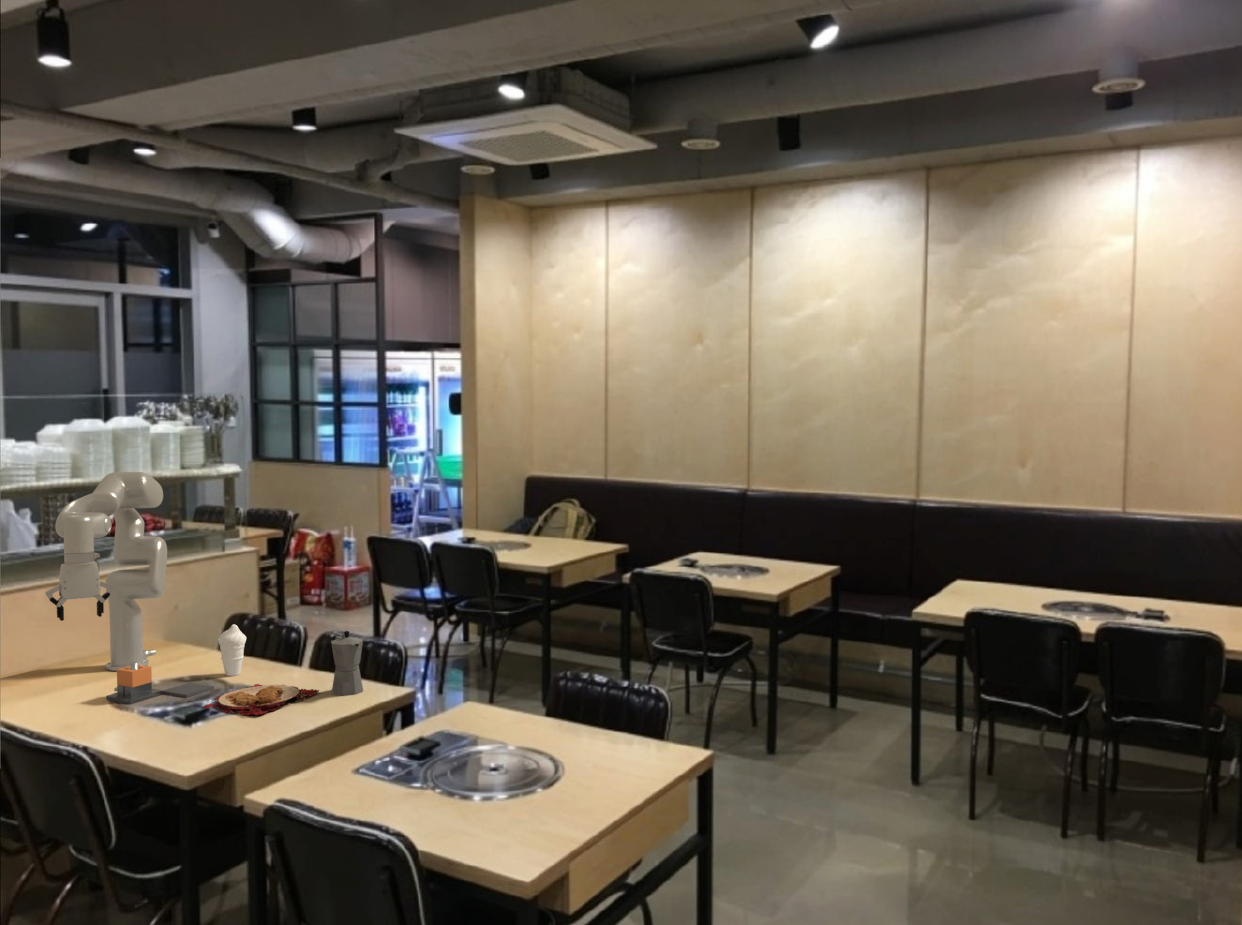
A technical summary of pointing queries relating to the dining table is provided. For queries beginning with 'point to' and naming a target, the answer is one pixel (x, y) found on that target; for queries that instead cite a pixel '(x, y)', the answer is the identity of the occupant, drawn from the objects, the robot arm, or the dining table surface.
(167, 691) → the mat
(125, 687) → the grey peg stand
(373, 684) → the dining table surface
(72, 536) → the robot arm
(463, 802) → the dining table surface
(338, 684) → the coffeepot
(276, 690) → the plate with food
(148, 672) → the orange square tube
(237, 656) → the soft serve ice cream cone
